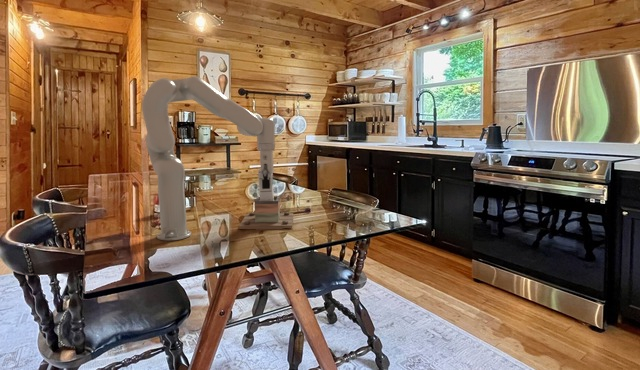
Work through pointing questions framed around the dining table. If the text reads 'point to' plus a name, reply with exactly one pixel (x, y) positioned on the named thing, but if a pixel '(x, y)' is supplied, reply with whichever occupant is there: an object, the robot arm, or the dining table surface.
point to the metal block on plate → (267, 216)
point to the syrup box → (266, 193)
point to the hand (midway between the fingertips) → (267, 186)
